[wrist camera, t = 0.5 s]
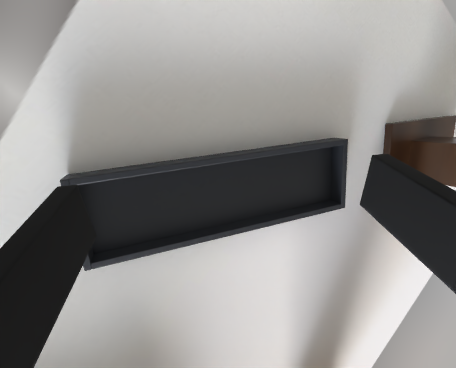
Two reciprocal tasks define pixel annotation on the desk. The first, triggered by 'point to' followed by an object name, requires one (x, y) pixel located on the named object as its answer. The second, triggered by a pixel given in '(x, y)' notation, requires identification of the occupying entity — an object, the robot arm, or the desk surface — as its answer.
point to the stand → (425, 146)
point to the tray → (208, 197)
